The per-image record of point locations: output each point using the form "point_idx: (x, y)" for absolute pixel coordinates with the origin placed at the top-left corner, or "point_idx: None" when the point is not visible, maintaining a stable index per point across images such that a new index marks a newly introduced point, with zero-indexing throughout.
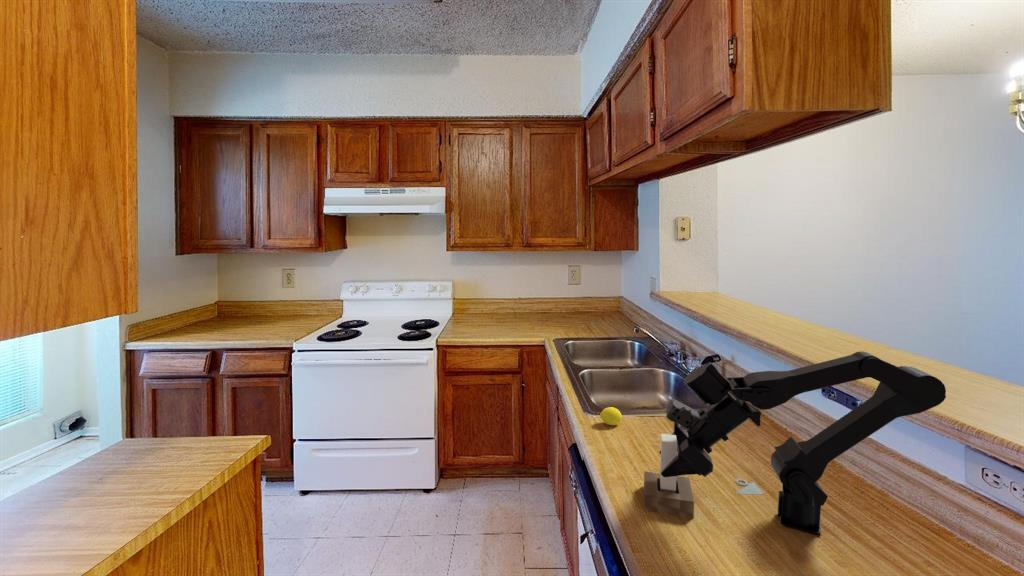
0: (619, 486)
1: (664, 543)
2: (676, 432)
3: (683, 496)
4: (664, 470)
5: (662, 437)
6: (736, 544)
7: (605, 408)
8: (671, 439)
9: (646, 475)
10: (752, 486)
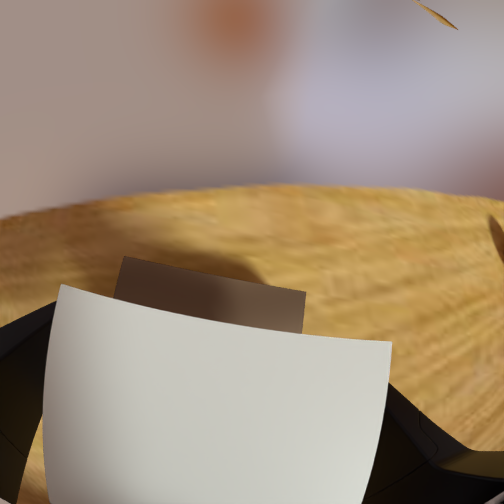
0: (270, 222)
1: (13, 292)
2: (444, 490)
3: None
4: (41, 308)
5: (238, 342)
6: (37, 467)
7: None
8: (168, 482)
9: (274, 295)
10: None
